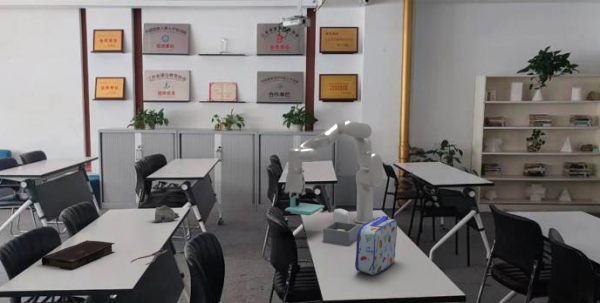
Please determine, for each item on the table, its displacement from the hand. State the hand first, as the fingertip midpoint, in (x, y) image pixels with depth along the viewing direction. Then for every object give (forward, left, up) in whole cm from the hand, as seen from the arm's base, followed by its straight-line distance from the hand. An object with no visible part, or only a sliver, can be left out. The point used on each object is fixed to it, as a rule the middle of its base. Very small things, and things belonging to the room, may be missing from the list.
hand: (294, 204), depth 246 cm
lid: (0, +6, -3) cm, 7 cm away
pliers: (+64, -42, -16) cm, 79 cm away
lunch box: (+30, +55, -16) cm, 65 cm away
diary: (+81, -68, -16) cm, 107 cm away
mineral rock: (+15, -79, -16) cm, 82 cm away
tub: (0, +27, -16) cm, 32 cm away
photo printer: (-15, +21, -16) cm, 31 cm away
